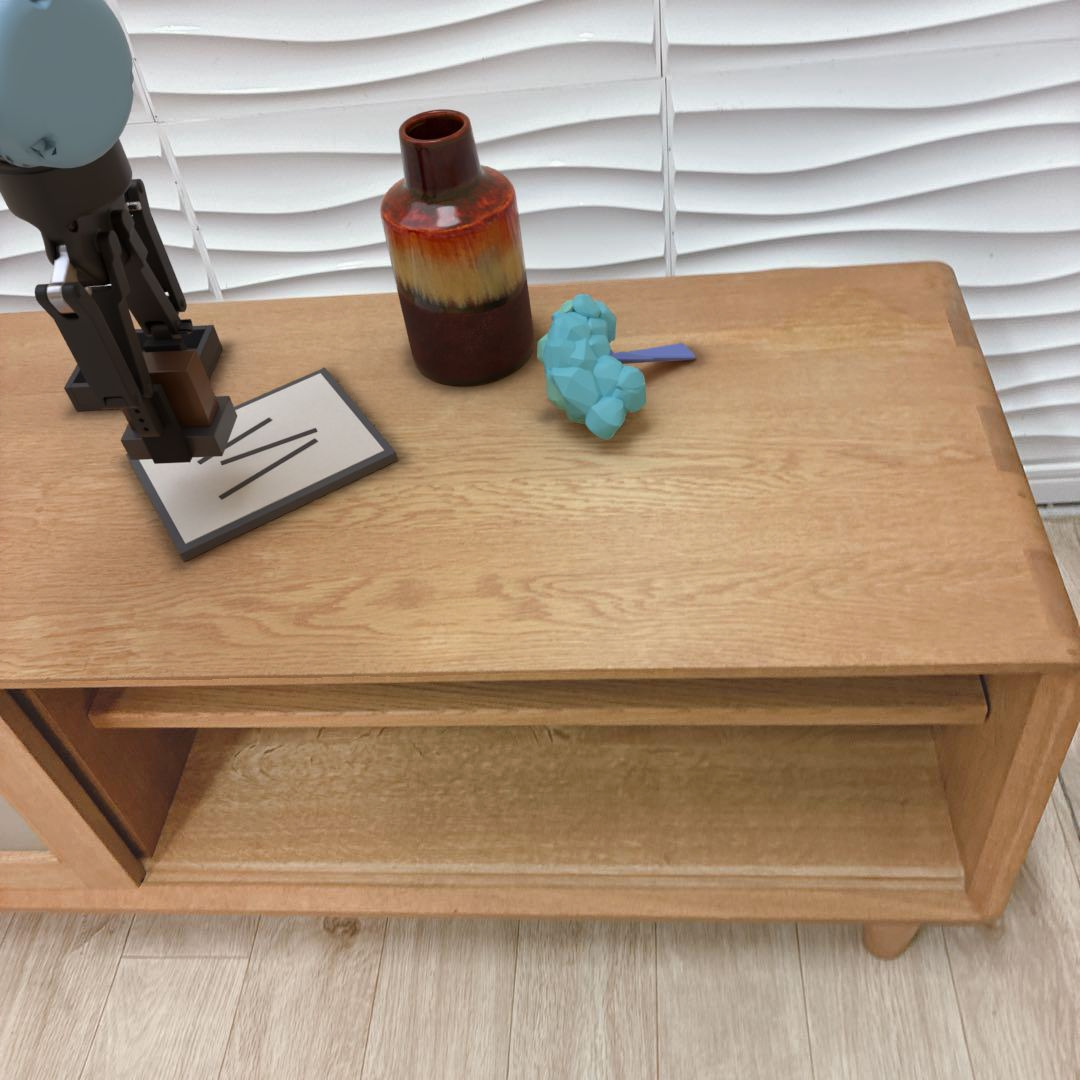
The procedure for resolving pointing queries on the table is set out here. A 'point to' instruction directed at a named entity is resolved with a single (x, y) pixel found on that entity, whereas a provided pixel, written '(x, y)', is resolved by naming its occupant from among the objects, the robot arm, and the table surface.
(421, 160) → the vase
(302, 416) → the whiteboard
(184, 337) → the tray
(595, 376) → the light blue toy tree
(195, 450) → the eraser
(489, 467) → the table surface
